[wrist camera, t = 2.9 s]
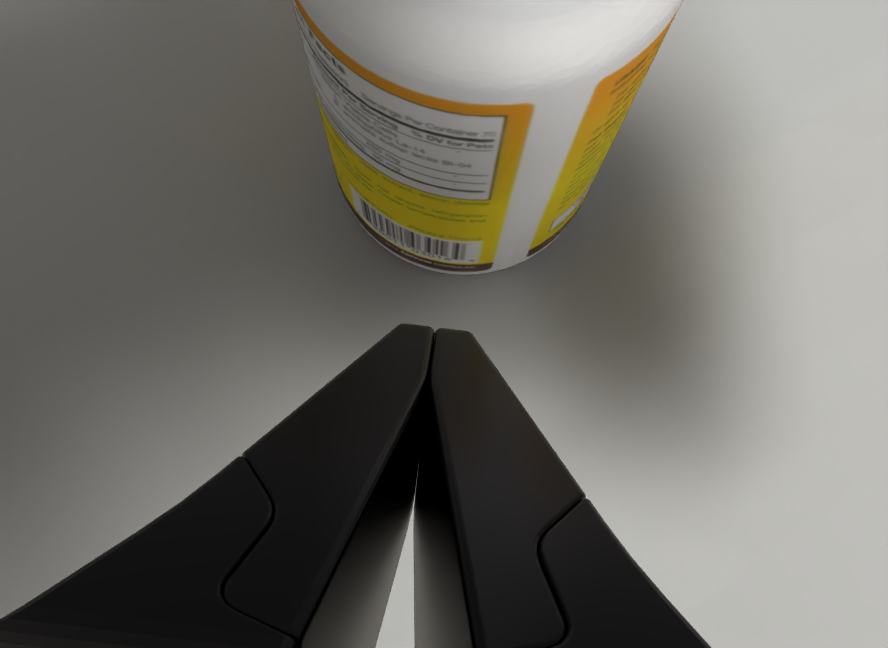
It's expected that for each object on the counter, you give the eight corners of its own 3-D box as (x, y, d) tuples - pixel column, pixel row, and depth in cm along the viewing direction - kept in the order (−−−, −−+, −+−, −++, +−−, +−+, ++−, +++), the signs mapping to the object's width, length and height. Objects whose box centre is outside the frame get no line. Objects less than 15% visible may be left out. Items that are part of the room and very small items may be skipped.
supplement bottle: (548, 32, 18) (700, -539, 8) (615, 253, 17) (886, -117, 7) (312, 78, 18) (180, -472, 8) (363, 308, 17) (283, -6, 7)
